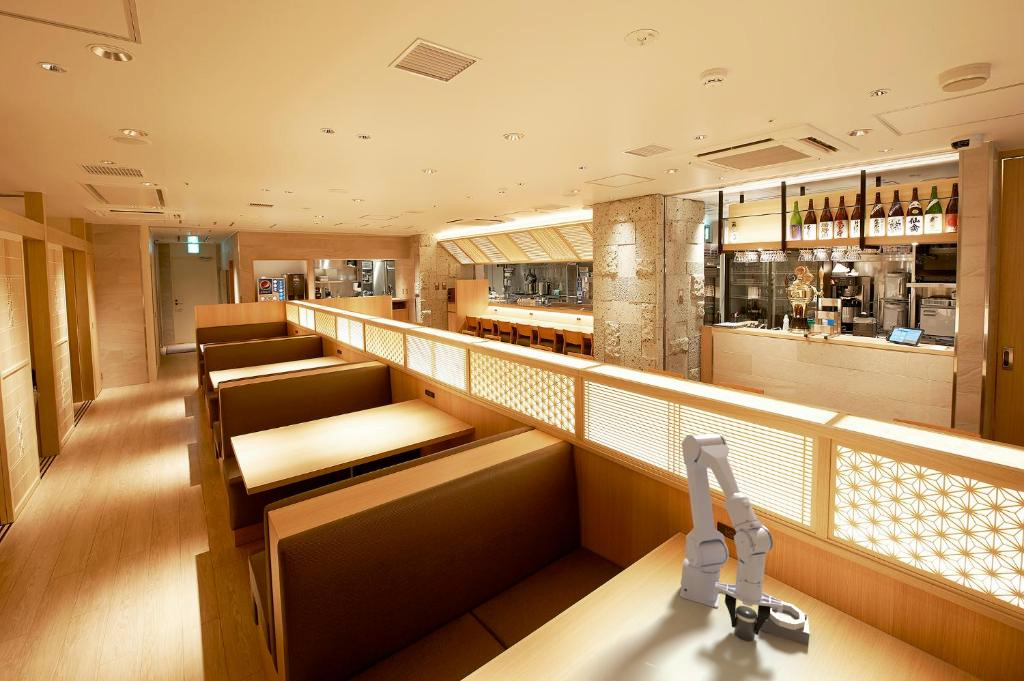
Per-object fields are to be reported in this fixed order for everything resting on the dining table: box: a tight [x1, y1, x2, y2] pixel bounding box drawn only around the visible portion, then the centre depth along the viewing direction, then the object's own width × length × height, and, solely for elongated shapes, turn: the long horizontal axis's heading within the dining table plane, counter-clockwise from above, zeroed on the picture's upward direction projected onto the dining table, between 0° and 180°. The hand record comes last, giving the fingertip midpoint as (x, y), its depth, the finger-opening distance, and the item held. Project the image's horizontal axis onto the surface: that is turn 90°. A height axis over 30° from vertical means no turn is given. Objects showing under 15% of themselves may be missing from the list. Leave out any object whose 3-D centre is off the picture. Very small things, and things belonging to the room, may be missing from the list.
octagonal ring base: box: [760, 601, 810, 646], centre depth 121 cm, size 10×8×4 cm
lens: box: [734, 605, 758, 642], centre depth 118 cm, size 5×5×6 cm
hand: (744, 628), depth 119 cm, fingers closed on lens, 4 cm apart
